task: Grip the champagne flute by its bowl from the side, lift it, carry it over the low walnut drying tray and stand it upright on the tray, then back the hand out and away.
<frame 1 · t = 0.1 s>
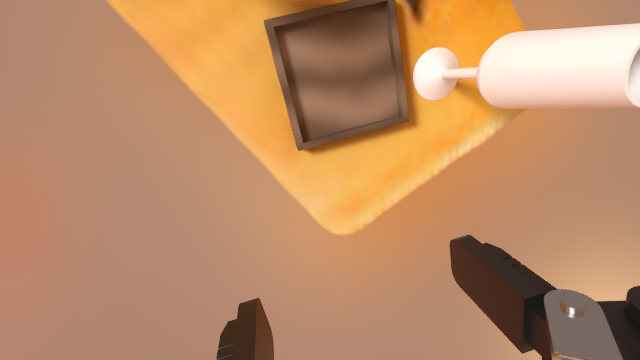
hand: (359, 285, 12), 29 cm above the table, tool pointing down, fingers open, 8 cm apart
drying tray: (339, 75, 37), on the table
champagne flute: (435, 74, 40), on the table
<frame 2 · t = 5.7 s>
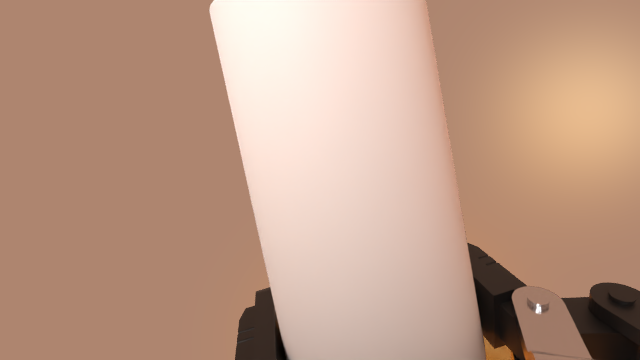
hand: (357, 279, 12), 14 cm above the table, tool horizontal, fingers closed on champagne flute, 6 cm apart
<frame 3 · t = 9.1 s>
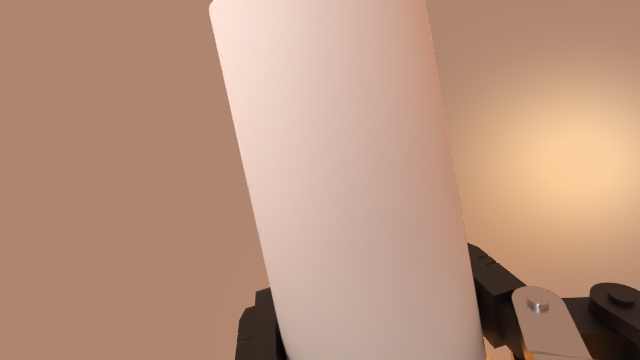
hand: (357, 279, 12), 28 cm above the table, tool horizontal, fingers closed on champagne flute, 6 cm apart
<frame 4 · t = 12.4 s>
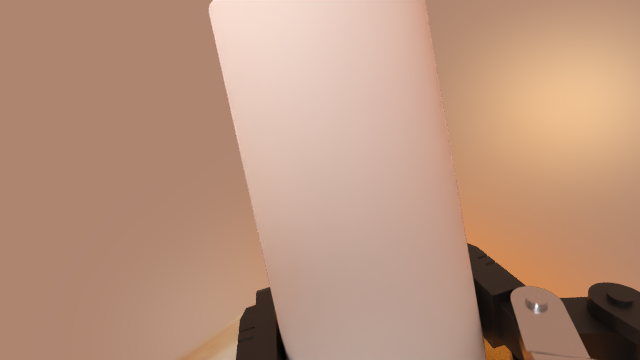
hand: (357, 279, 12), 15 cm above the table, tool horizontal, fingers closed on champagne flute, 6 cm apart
when the fingers open (15 cm above the table, at t = 12.9 s): champagne flute stays where it is, resting on drying tray.
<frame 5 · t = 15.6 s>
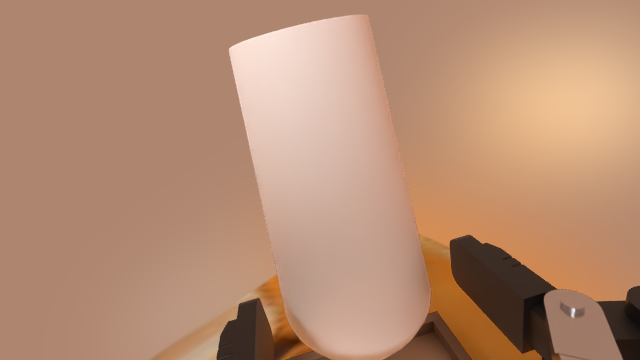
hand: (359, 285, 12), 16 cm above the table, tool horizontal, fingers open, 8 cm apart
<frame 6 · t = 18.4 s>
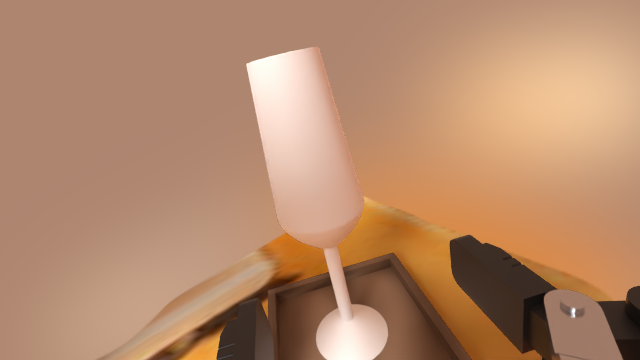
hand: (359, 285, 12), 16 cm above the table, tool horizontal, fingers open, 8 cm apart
drying tray: (353, 338, 28), on the table
champagne flute: (351, 333, 27), point 1 cm above the table, touching drying tray
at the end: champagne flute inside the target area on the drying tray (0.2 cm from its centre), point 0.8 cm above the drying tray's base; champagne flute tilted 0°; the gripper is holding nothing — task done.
